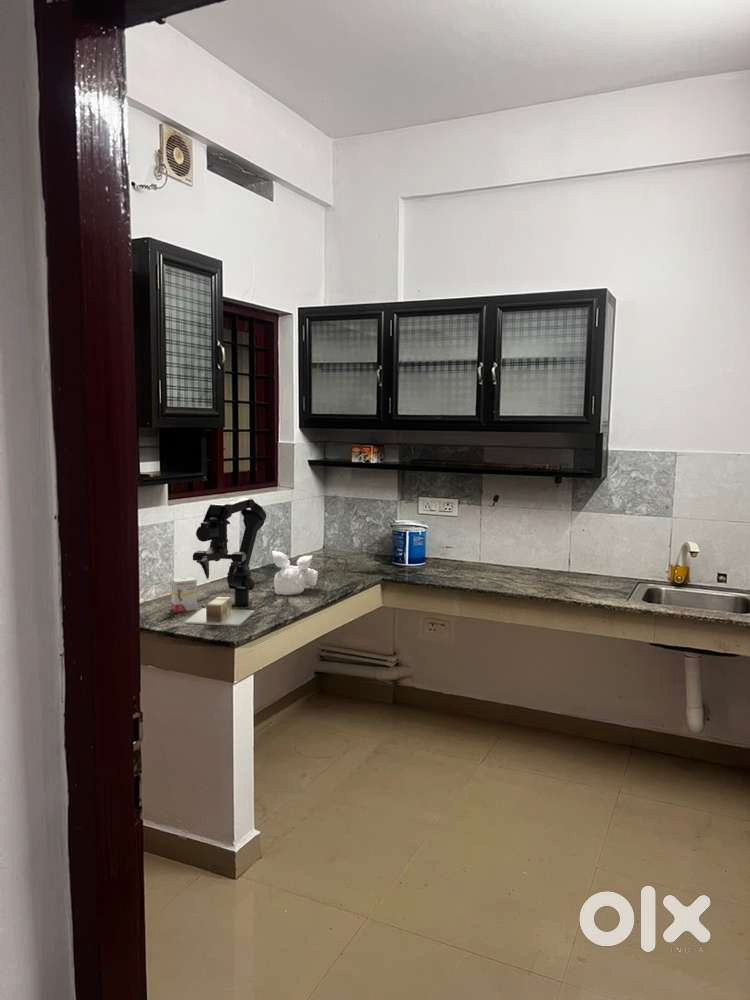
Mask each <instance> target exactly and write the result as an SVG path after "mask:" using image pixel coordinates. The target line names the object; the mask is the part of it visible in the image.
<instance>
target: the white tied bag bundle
mask: <svg viewBox="0 0 750 1000" xmlns="http://www.w3.org/2000/svg"><path fill="white" fill-rule="evenodd" d="M271 553H272V554H271V555H272V560H273V562H274V565H275V566H276V567H277V568H280V570H279V571H277V572H276V573H275V574H274V581H273V583H274V584H273V585H274V591H275V593H276V595H283V596H290V595H291V596H292V595H298V594H301V593H303V592H304V590H305V587H307V586H306V583H307V584H308V585H309V586H315V585H316V584H317V582H318V574H319V571H317V570H316V569H314V568H310V566H311V562H312V559H313V557H314V555H304V556H300V557H299V558H298V559H297V560H296V565H291V561H290V560H289V557H288V555H287V554H285V553H284V552H282V551H277V550H272V551H271Z"/></svg>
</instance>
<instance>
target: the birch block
mask: <svg viewBox="0 0 750 1000" xmlns="http://www.w3.org/2000/svg"><path fill="white" fill-rule="evenodd" d="M231 604H232V597H230V596H217V597H216V598H214V599H212V600H210V602H208V603H207V604H205V608H206V622H221V621H222V620H223V619H225V618H226V617H227V616H228V615H229V614H231V609H232V605H231Z"/></svg>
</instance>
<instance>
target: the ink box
mask: <svg viewBox="0 0 750 1000" xmlns="http://www.w3.org/2000/svg"><path fill="white" fill-rule="evenodd" d="M197 585H198V584H197V579H196V578H195V577H193V576H192V577H191V576H190V577H181V578H180V577H179V578H177V577H176V578H172V579H171V610H172V611H173V612H174V613H180V612H189V611H197V610H198V591H197V590H198V588H197Z"/></svg>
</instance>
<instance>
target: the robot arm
mask: <svg viewBox="0 0 750 1000" xmlns="http://www.w3.org/2000/svg"><path fill="white" fill-rule="evenodd" d="M238 512H240V514H241V516H242V517H243V519H242V522H243V525H244V532H243V535H242V540H241V544H240V547H239V551H235V552H233V553H229V550H228V543H229V539H228V525H230V524H231V522H230V521H229V520H228V519H229V518H231V517H232V515H233V514H236V513H238ZM266 519H267V512H266V511H265V510H264V508H263V506H261V505H259V504H258V503H257V502H255V500H254V499H253V498H252V497H251V498H248V497H241V498H239V499H235V500H232V501H229V502H226V503H214V502H213V503H211V504H209V506H208V508H207V511H206V513H205V515H204V518H203V520H202V522H200V526H198V527H197V529H196V531H195V536H196V538H197V539H198V540H199V541H200V542H208V541H209V543H210V544H209V546H208V548H207V550H196V551H195V552H194V553H193V554H192V561H195V562H196V563H197V564H199V565H200V566H201V568H202V570H203V573H204V575H205V578H206V579H207V580H208V579H210V562H211V561H212V562H213V561H215V562H219V561H221V560H231V562H230V565H229V568H228V572H227V574H226V575H227V576H226V582H227V585H228V589H229V590H233V595H234V596H233V600H234V602H233V603H232V602H231V607H233V606H234V607H248V606H250V605H251V604H252V603H253V600H252V601H251V600H250V591H253V589H255V581H254V580H253V579H252V577H251V574H252V572H251V569H250V561H251V557H252V555H253V549H254V547H255V546H254V545H255V543H256V539H257V534H258V531H259V530H261V528H262V527H263V526H264V523H265V522H266Z"/></svg>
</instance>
